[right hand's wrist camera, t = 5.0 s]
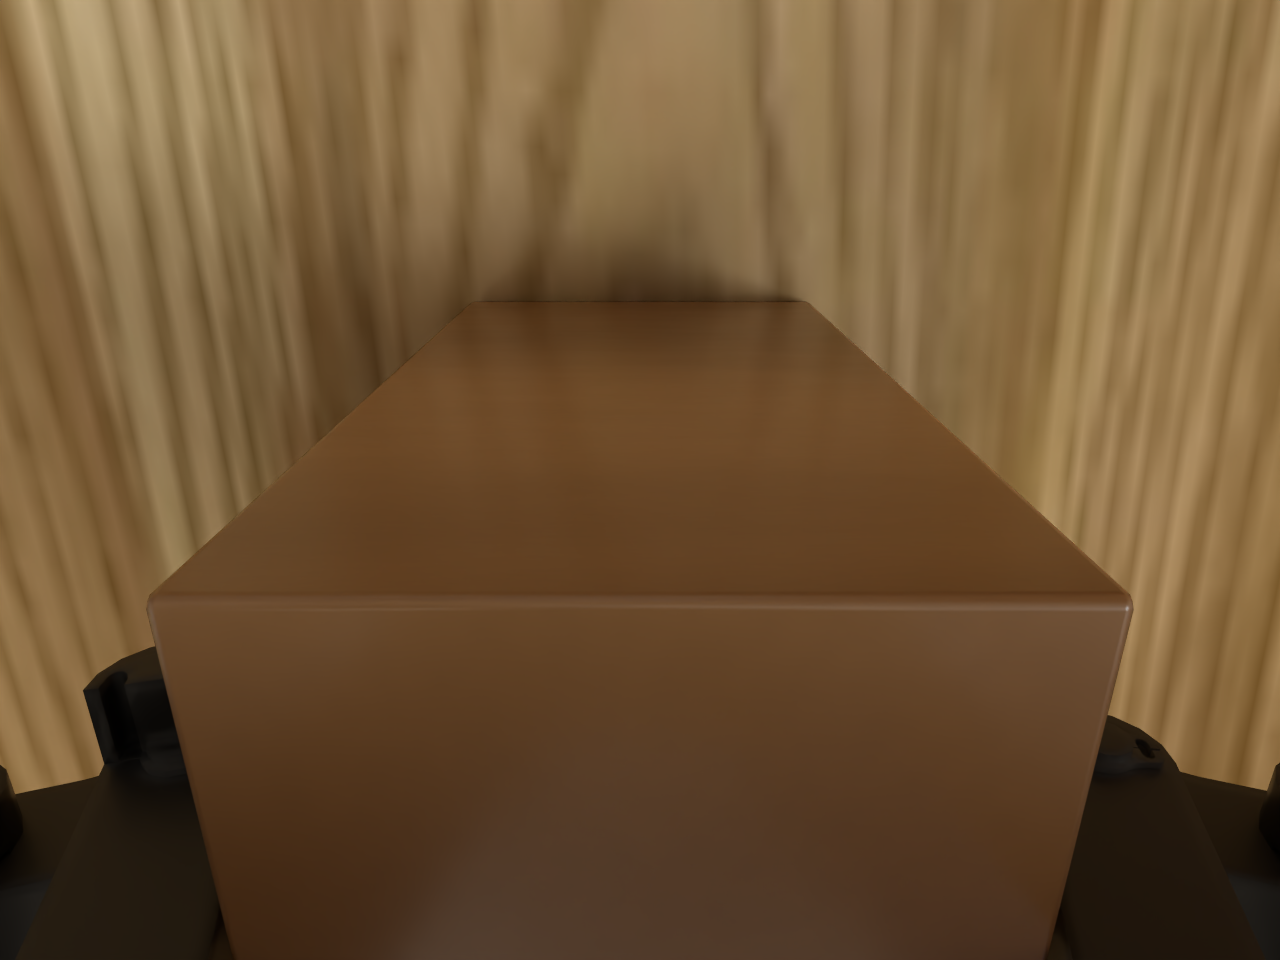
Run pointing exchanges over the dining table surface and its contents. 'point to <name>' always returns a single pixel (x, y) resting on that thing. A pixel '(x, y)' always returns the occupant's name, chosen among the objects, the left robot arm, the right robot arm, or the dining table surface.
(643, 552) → the bar
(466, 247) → the dining table surface
